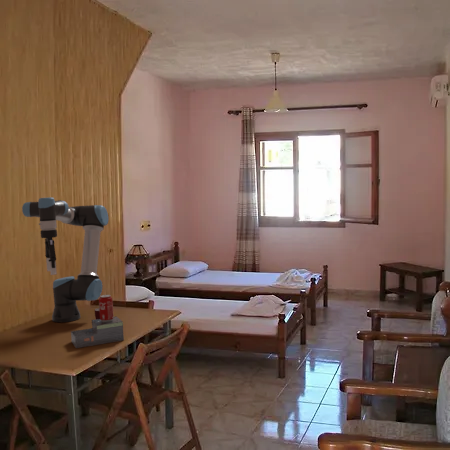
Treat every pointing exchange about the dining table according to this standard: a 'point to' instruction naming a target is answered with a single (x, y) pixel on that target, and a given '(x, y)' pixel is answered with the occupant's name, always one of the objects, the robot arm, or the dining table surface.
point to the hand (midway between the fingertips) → (51, 272)
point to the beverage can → (106, 308)
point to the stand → (99, 333)
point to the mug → (97, 313)
